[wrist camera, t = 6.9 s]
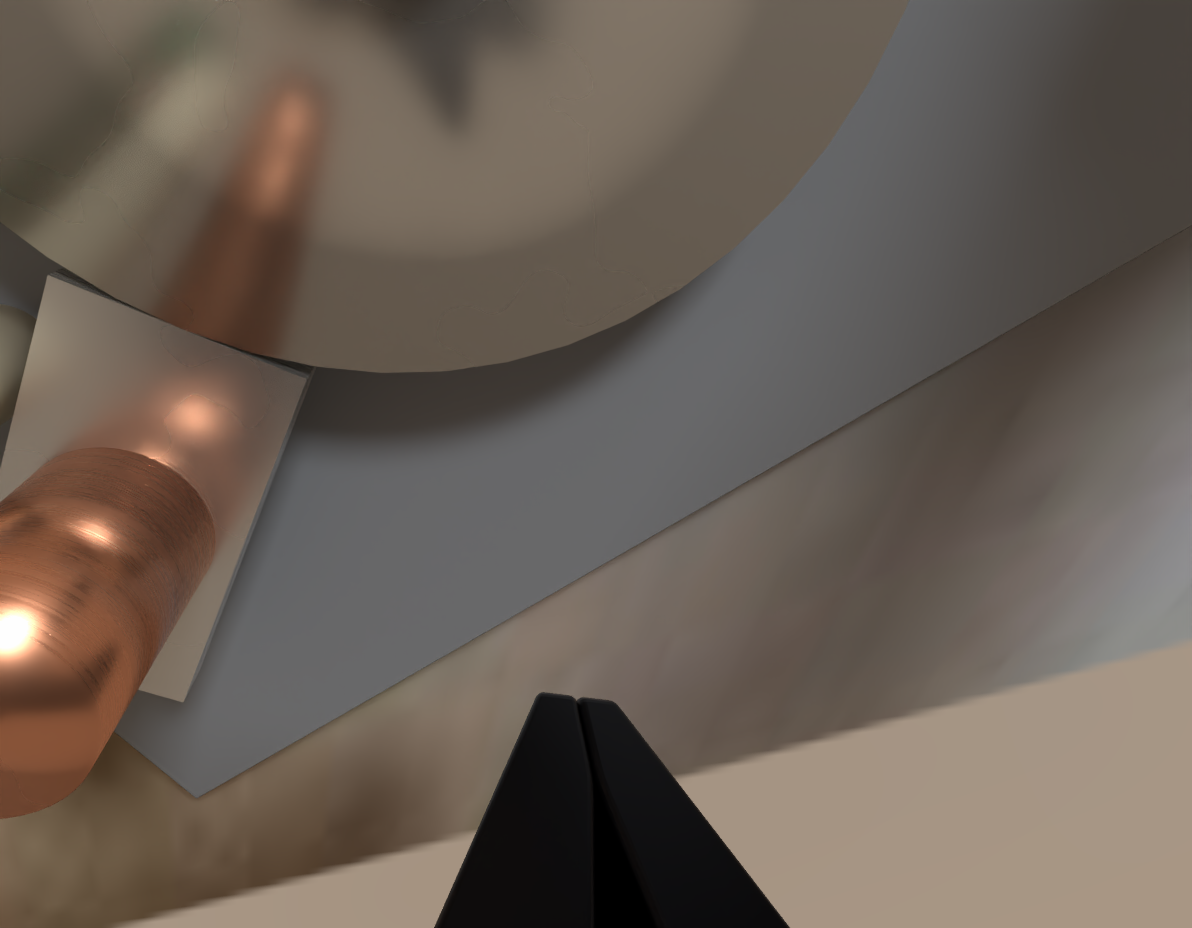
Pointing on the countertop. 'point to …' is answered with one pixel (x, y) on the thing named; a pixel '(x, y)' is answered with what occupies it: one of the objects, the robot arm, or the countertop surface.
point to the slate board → (681, 365)
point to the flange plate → (330, 262)
